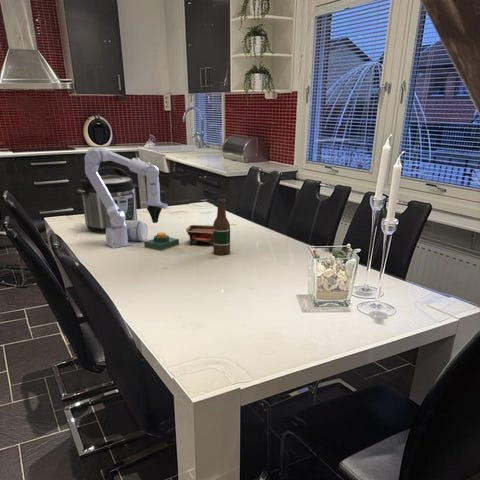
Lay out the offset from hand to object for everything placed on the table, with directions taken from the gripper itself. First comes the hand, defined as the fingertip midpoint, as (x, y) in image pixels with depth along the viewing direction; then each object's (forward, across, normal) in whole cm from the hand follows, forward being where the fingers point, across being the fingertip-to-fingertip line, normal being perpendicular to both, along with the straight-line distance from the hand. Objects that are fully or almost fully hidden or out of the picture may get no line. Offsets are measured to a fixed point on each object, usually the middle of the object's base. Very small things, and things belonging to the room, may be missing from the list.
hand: (155, 222), depth 218 cm
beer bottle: (+10, -34, -6) cm, 36 cm away
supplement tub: (+6, +8, -1) cm, 10 cm away
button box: (+10, -4, +1) cm, 11 cm away
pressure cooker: (+11, +40, -10) cm, 43 cm away
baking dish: (+10, -18, -16) cm, 26 cm away
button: (+6, -4, +1) cm, 8 cm away
